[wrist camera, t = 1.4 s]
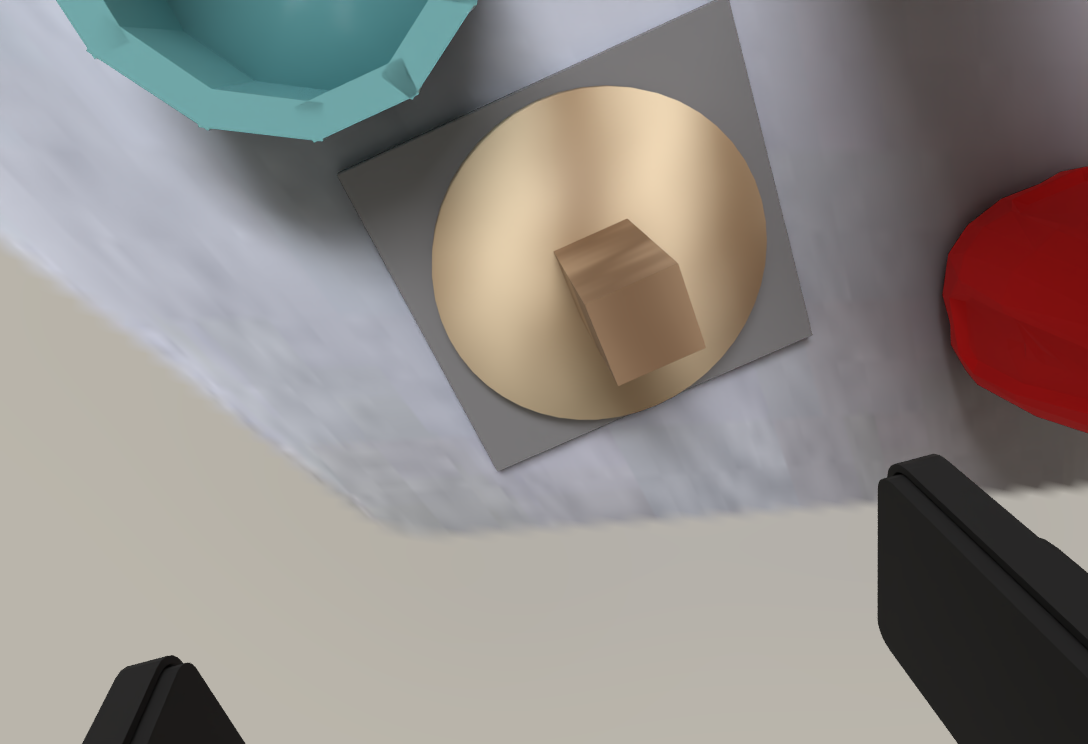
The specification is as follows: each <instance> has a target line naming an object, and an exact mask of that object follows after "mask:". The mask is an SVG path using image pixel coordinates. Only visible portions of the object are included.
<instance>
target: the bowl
mask: <svg viewBox="0 0 1088 744" xmlns="http://www.w3.org/2000/svg"><path fill="white" fill-rule="evenodd" d="M56 1H57V2H58V4H59V5H60V7H61V9H62V10H63V12H64V13H65V15H66V16H67V18H68V19H69V21H70V22H71V24H72V25H73V27H74V28H75V30H76V31H77V33H78V35H79V36H80V38H81V39H82V41H83V42H84V44H85V45H86V47H87V50H86V51H87V52H89V53H90V54H92V56H93V57H94V59H100V60H101V61H103V62H104V63H106V64H107V65H109V66H110V67H112V68H113V69H115V70H116V71H118V72H119V73H121V74H122V75H124V76H125V77H127V78H128V79H130V80H132V81H133V82H135V83H136V84H138V85H139V86H141V87H142V88H144V89H145V90H147V91H148V92H150V93H151V94H153V95H154V96H156V97H157V98H159V99H160V100H162V101H164V102H165V103H167V104H168V105H170V106H171V107H173V108H174V109H176V110H177V111H179V112H180V113H182V114H183V115H185V116H186V117H188V118H189V119H191V120H192V121H194V122H196V123H197V124H198V127H202V128H205V129H206V130H211V129H219V130H228V131H236V132H245V133H254V134H262V135H271V136H280V137H288V138H297V139H306V140H313V142H314V143H315V142H317V141H324V140H325V139H326V138H328V137H329V136H330V135H332V134H334V133H336V132H338V131H341V130H343V129H345V128H347V127H349V126H351V125H354V124H356V123H358V122H360V121H362V120H364V119H367V118H369V117H371V116H373V115H375V114H377V113H379V112H382V111H384V110H386V109H388V108H390V107H392V106H395V105H397V104H399V103H401V102H403V101H405V100H408V99H412V100H413V98H414V97H415V96H416V95H418V94H419V93H420V90H421V87H422V84H423V83H424V81H425V80H426V78H427V77H428V75H429V74H430V72H431V71H432V69H433V67H434V66H435V64H436V63H437V61H438V60H439V58H440V57H441V55H442V54H443V52H444V50H445V49H446V47H447V46H448V44H449V43H450V41H451V40H452V38H453V37H454V35H455V33H456V32H457V30H458V29H459V27H460V26H461V24H462V23H463V21H464V20H465V18H466V17H467V15H468V14H469V13H470V12H471V11H472V10H473V9H474V8H475V7H476V6H477V0H56Z"/></svg>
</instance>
